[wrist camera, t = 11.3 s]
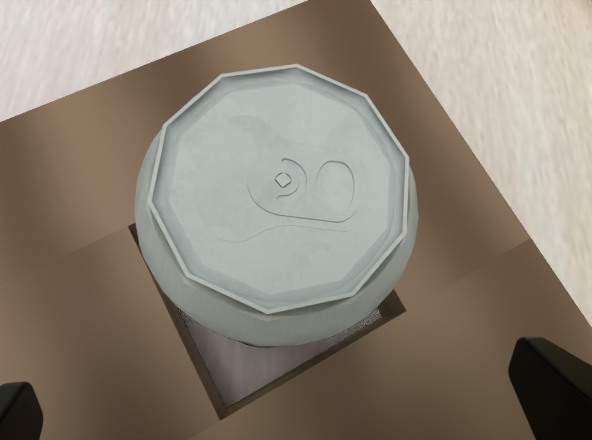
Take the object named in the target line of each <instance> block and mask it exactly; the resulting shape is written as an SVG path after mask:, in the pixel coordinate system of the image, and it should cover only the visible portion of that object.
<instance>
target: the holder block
mask: <svg viewBox="0 0 592 440" xmlns="http://www.w3.org/2000/svg"><path fill="white" fill-rule="evenodd" d="M292 64H299V65H301V66H303V67H306V68H308V69H310V70H312V71H315V72H317V73H319V74H322V75H324V76H326V77H328V78H331V79H333V80H335V81H337V82H340V83H342V84H344V85H347V86H349V87H351V88H353V89H356V90H358V91H360V92H363V93H365V94H367V95H368V97H369V98H370V100H371V101H372V103H373V104H374V106H375V107H376V109H377V110H378V111H379V113H380V114H381V116H382V117H383V119H384V120H385V122H386V123H387V124H388V126H389V128H390V129H391V131H392V132H393V134H394V135H395V137H396V138H397V140H398V141H399V143H400V144H401V146H402V147H403V149H404V150H405V152H406V153H407V155H408V156H409V165H410V168H411V170H412V172H413V176H414V180H415V184H416V193H417V205H418V218H419V219H418V226H417V233H416V240H415V244H414V248H413V250H412V253H411V255H410V258H409V260H408V263H407V265H406V267H405V270H404V272H403V275H402V277H401V278H400V280H399V282H398V283H397V285H396V286H395V288H394V289H393V290H392V291H391V292H390V293H389V294H388V296H387V297H386V298H385V299H384V300H383V301H382V302H381V303H380V304H379V305H378V306H377V308H378V309H379V311H380V313H381V314H382V316H383V317H382V318H380V319H378V320H377V321H375V322H373V323H372V324H370V325H368V326H367V327H365V328H363V329H361V330H360V331H358V332H356V333H355V334H353V335H351V336H349V337H348V338H346V339H344V340H343V341H341V342H339V343H337V344H336V345H334V346H332V347H331V348H329V349H327V350H325V351H324V352H322V353H320V354H319V355H317V356H315V357H314V358H312V359H310V360H308V361H307V362H305V363H303V364H302V365H300V366H298V367H296V368H295V369H293V370H291V371H290V372H288V373H286V374H284V375H283V376H281V377H279V378H278V379H276V380H274V381H272V382H271V383H269V384H267V385H266V386H264V387H262V388H261V389H259V390H257V391H255V392H254V393H252V394H250V395H249V396H247V397H245V398H243V399H242V400H240V401H238V402H237V403H235V404H233V405H231V406H230V407H228V408H225V406H224V404H223V402H222V400H221V398H220V396H219V393H218V391H217V389H216V387H215V385H214V383H213V381H212V379H211V377H210V375H209V373H208V371H207V368H206V366H205V364H204V362H203V360H202V358H201V356H200V354H199V352H198V350H197V348H196V346H195V343H194V341H193V339H192V337H191V335H190V333H189V331H188V329H187V327H186V325H185V323H184V321H183V318H182V316H181V314H180V312H179V310H178V308H177V306H176V305H175V304H174V303H173V302H172V301H171V300H170V298H169V297H168V296H167V295H166V294H165V293H164V292H163V291H162V289H161V287H160V286H159V284H158V282H157V280H156V279H155V277H154V275H153V273H152V272H151V270H150V268H149V266H148V265H147V263H146V261H145V259H144V257H143V254H142V251H141V248H140V246H139V239H138V233H137V228H136V222H135V214H134V207H135V197H136V186H137V178H138V175H139V172H140V169H141V166H142V163H143V160H144V157H145V155H146V153H147V151H148V149H149V147H150V145H151V143H152V141H153V139H154V138H155V137H156V135H157V134H158V133H159V131H160V130H161V129H162V127H163V124H164V123H165V122H167V121H168V120H169V119H170V118H171V117H172V116H173V115H175V114H176V113H177V112H178V111H179V110H180V109H181V108H183V107H184V106H185V105H186V104H187V103H188V102H189V101H190V100H191V99H192V98H193V97H195V96H196V95H198V94H199V93H200V92H201V91H202V90H203V89H204V88H206V87H207V86H208V85H209V84H210V83H211V82H212V81H214V80H215V79H216V78H217V77H218V76H219V75H220V74H225V73H233V72H240V71H247V70H255V69H262V68H270V67H277V66H285V65H292ZM527 336H542V337H544V338H546V339H548V340H549V341H551V342H553V343H554V344H556V345H558V346H560V347H561V348H563V349H565V350H566V351H568V352H570V353H572V354H573V355H575V356H577V357H578V358H580V359H582V360H584V361H585V362H587V363H589V364H590V365H592V327H591V326H590V325H589V323H588V322H587V320H586V319H585V317H584V316H583V314H582V313H581V311H580V310H579V308H578V307H577V305H576V304H575V302H574V301H573V299H572V298H571V296H570V295H569V294H568V292H567V291H566V289H565V288H564V286H563V285H562V283H561V282H560V280H559V279H558V277H557V276H556V274H555V273H554V271H553V270H552V268H551V267H550V265H549V264H548V262H547V261H546V260H545V258H544V257H543V255H542V254H541V252H540V251H539V249H538V248H537V246H536V245H535V243H534V242H533V240H532V239H531V237H530V236H529V234H528V233H527V231H526V230H525V229H524V227H523V226H522V224H521V223H520V221H519V220H518V218H517V217H516V215H515V214H514V212H513V211H512V209H511V208H510V206H509V205H508V203H507V202H506V200H505V199H504V197H503V196H502V195H501V193H500V192H499V190H498V189H497V187H496V186H495V184H494V183H493V181H492V180H491V178H490V177H489V175H488V174H487V172H486V171H485V169H484V168H483V166H482V165H481V164H480V162H479V161H478V159H477V158H476V156H475V155H474V153H473V152H472V150H471V149H470V147H469V146H468V144H467V143H466V141H465V140H464V138H463V137H462V135H461V134H460V132H459V131H458V130H457V128H456V127H455V125H454V124H453V122H452V121H451V119H450V118H449V116H448V115H447V113H446V112H445V110H444V109H443V107H442V106H441V104H440V103H439V101H438V100H437V99H436V97H435V96H434V94H433V93H432V91H431V90H430V88H429V87H428V85H427V84H426V82H425V81H424V79H423V78H422V76H421V75H420V73H419V72H418V70H417V69H416V67H415V66H414V65H413V63H412V62H411V60H410V59H409V57H408V56H407V54H406V53H405V51H404V50H403V48H402V47H401V45H400V44H399V42H398V41H397V39H396V38H395V36H394V35H393V34H392V32H391V31H390V29H389V28H388V26H387V25H386V23H385V22H384V20H383V19H382V17H381V16H380V14H379V13H378V11H377V10H376V8H375V7H374V5H373V4H372V2H371V1H370V0H308V1H305V2H303V3H300V4H298V5H295V6H293V7H290V8H288V9H285V10H283V11H280V12H278V13H275V14H272V15H270V16H267V17H265V18H262V19H260V20H257V21H255V22H252V23H250V24H247V25H245V26H242V27H240V28H237V29H235V30H232V31H229V32H227V33H224V34H222V35H219V36H217V37H214V38H212V39H209V40H207V41H204V42H202V43H199V44H197V45H194V46H192V47H189V48H187V49H184V50H181V51H179V52H176V53H174V54H171V55H169V56H166V57H164V58H161V59H159V60H156V61H154V62H151V63H149V64H146V65H144V66H141V67H139V68H136V69H133V70H131V71H128V72H126V73H123V74H121V75H118V76H116V77H113V78H111V79H108V80H106V81H103V82H101V83H98V84H96V85H93V86H91V87H88V88H85V89H83V90H80V91H78V92H75V93H73V94H70V95H68V96H65V97H63V98H60V99H58V100H55V101H53V102H50V103H48V104H45V105H42V106H40V107H37V108H35V109H32V110H30V111H27V112H25V113H22V114H20V115H17V116H15V117H12V118H10V119H7V120H5V121H2V122H0V386H1V385H2V384H5V383H12V382H23V381H26V382H29V383H30V384H31V385H32V386H33V389H34V391H35V394H36V396H37V399H38V401H39V404H40V406H41V409H42V412H43V427H42V432H41V436H40V440H536V439H535V437H534V435H533V432H532V430H531V428H530V425H529V423H528V421H527V418H526V416H525V414H524V412H523V409H522V407H521V405H520V402H519V400H518V398H517V395H516V393H515V391H514V388H513V386H512V384H511V381H510V379H509V375H508V366H509V363H510V360H511V356H512V353H513V350H514V347H515V344H516V341H517V340H518V339H519V338H520V337H527Z"/></svg>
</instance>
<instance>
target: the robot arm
mask: <svg viewBox="0 0 592 440" xmlns="http://www.w3.org/2000/svg"><path fill="white" fill-rule="evenodd" d="M508 375H509V379H510V381H511V384H512V386H513V388H514V391H515V393H516V395H517V398H518V400H519V402H520V405H521V407H522V409H523V412H524V414H525V416H526V418H527V421H528V423H529V425H530V428H531V430H532V432H533V435H534V437H535V439H536V440H592V365H590V364H589V363H587V362H585V361H584V360H582V359H580V358H578V357H577V356H575V355H573V354H572V353H570V352H568V351H566V350H565V349H563V348H561V347H560V346H558V345H556V344H554V343H553V342H551V341H549V340H548V339H546V338H544V337H542V336H527V337H520V338H519V339H518V340H517V341H516V344H515V347H514V350H513V353H512V356H511V360H510V363H509V366H508ZM42 427H43V412H42V409H41V406H40V404H39V401H38V399H37V396H36V394H35V391H34V389H33V386H32V385H31V384H30V383H29V382H26V381H23V382H12V383H5V384H2V385H1V386H0V440H40V436H41V432H42Z"/></svg>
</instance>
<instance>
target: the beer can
mask: <svg viewBox="0 0 592 440" xmlns="http://www.w3.org/2000/svg"><path fill="white" fill-rule="evenodd" d="M134 214H135V222H136V228H137V233H138V239H139V246H140V248H141V251H142V254H143V257H144V259H145V261H146V263H147V265H148V266H149V268H150V270H151V272H152V273H153V275H154V277H155V279H156V280H157V282H158V284H159V286H160V287H161V289H162V291H163V292H164V293H165V294H166V295H167V296H168V297H169V298H170V300H171V301H172V302H173V303H174V304H175V305H176V306H177V307H178V308H179V309H180V310H182V311H183V312H184V313H185V314H187V315H188V316H189V317H191V318H192V319H193V320H195V321H196V322H197V323H199V324H200V325H202V326H204V327H206V328H208V329H210V330H212V331H215V332H217V333H219V334H221V335H223V336H225V337H227V338H230V339H233V340H237V341H239V342H242V343H244V344H246V345H250V346H254V347H274V346H297V345H302V344H306V343H310V342H315V341H319V340H324V339H327V338H330V337H332V336H334V335H336V334H338V333H341V332H343V331H345V330H347V329H349V328H351V327H353V326H354V325H356V324H357V323H359V322H360V321H361V320H363V319H364V318H366V317H367V316H368V315H370V314H371V313H372V312H373V311H374V310H375V309H376V308H377V306H378V305H379V304H380V303H381V302H382V301H383V300H384V299H385V298H386V297H387V296H388V294H389V293H390V292H391V291H392V290H393V289H394V288H395V286H396V285H397V283H398V282H399V280H400V278H401V277H402V275H403V272H404V270H405V267H406V265H407V263H408V260H409V258H410V255H411V253H412V250H413V248H414V244H415V240H416V233H417V226H418V219H419V218H418V205H417V193H416V184H415V180H414V176H413V172H412V170H411V168H410V165H409V156H408V155H407V153H406V152H405V150H404V149H403V147H402V146H401V144H400V143H399V141H398V140H397V138H396V137H395V135H394V134H393V132H392V131H391V129H390V128H389V126H388V124H387V123H386V122H385V120H384V119H383V117H382V116H381V114H380V113H379V111H378V110H377V109H376V107H375V106H374V104H373V103H372V101H371V100H370V98H369V97H368V95H367V94H365V93H363V92H360V91H358V90H356V89H353V88H351V87H349V86H347V85H344V84H342V83H340V82H337V81H335V80H333V79H331V78H328V77H326V76H324V75H322V74H319V73H317V72H315V71H312V70H310V69H308V68H306V67H303V66H301V65H299V64H292V65H285V66H277V67H270V68H262V69H255V70H247V71H240V72H233V73H225V74H220V75H219V76H218V77H217V78H216V79H215V80H214V81H212V82H211V83H210V84H209V85H208V86H207V87H206V88H204V89H203V90H202V91H201V92H200V93H199V94H198V95H196V96H195V97H193V98H192V99H191V100H190V101H189V102H188V103H187V104H186V105H185V106H184V107H183V108H181V109H180V110H179V111H178V112H177V113H176V114H175V115H173V116H172V117H171V118H170V119H169V120H168V121H167V122H165V123H164V124H163V127H162V129H161V130H160V131H159V133H158V134H157V135H156V137H155V138H154V139H153V141H152V143H151V145H150V147H149V149H148V151H147V153H146V155H145V157H144V160H143V163H142V166H141V169H140V172H139V175H138V178H137V186H136V197H135V207H134Z"/></svg>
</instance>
